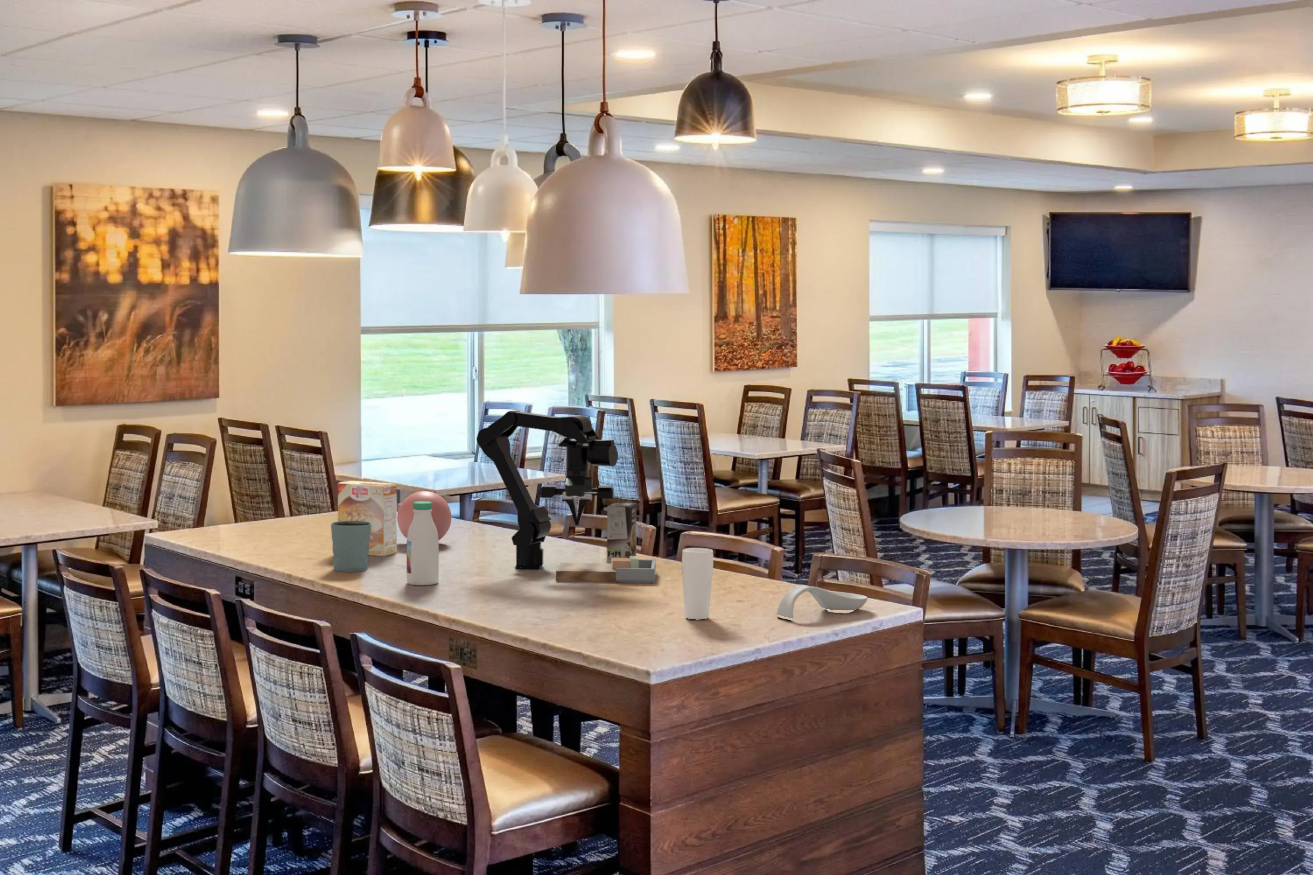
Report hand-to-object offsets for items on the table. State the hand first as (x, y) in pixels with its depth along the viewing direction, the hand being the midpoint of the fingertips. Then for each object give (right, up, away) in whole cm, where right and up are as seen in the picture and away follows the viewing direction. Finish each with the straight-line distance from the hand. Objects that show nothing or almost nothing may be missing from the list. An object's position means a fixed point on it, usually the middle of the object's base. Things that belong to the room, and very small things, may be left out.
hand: (577, 525), depth 359 cm
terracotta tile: (+11, -10, -7) cm, 17 cm away
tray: (+15, -13, -7) cm, 21 cm away
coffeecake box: (-59, -10, +27) cm, 66 cm away
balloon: (-48, -8, +44) cm, 66 cm away
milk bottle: (-37, -13, -18) cm, 43 cm away
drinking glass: (+29, -17, -56) cm, 65 cm away
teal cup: (-58, -12, +1) cm, 59 cm away
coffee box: (+11, -11, +13) cm, 20 cm away
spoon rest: (+57, -17, -49) cm, 77 cm away
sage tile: (+14, -10, -7) cm, 19 cm away
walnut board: (+3, -13, -7) cm, 15 cm away
